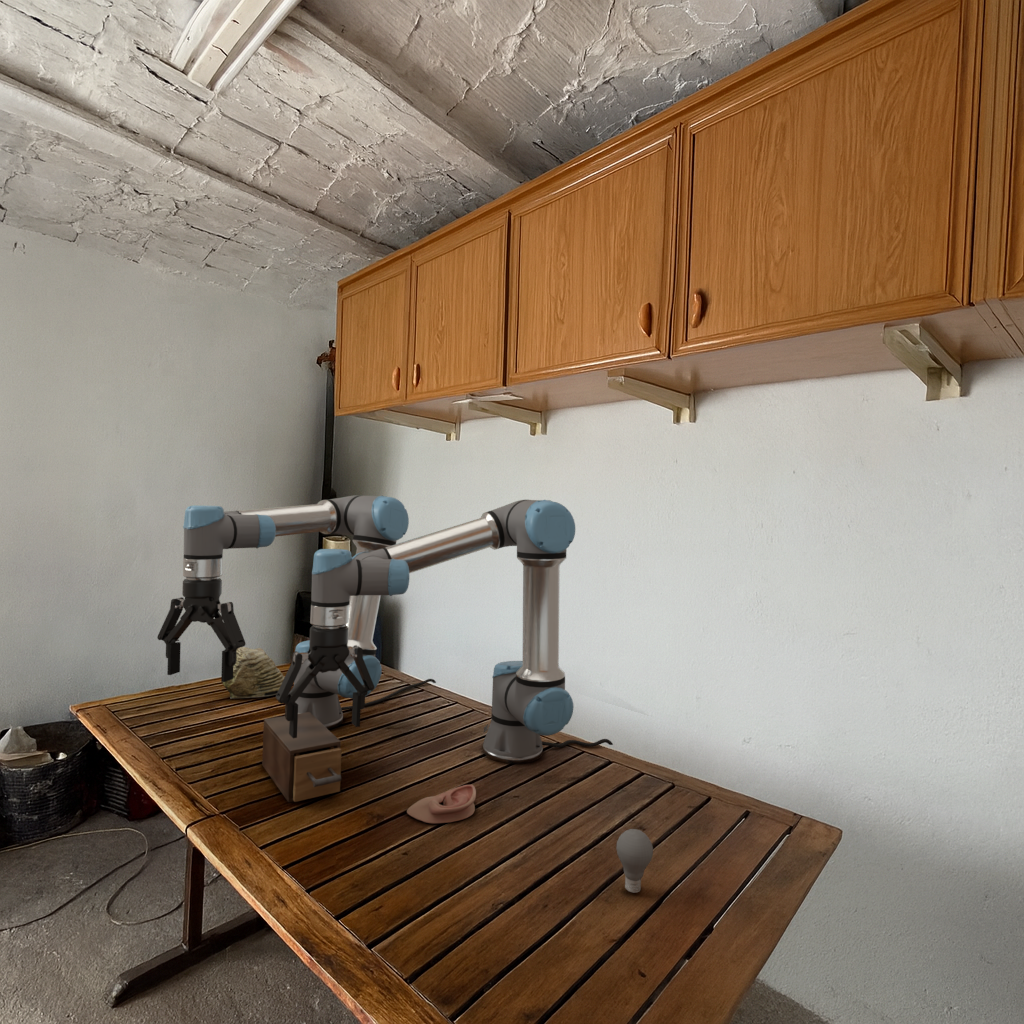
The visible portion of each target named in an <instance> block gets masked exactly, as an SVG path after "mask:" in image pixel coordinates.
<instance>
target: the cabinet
mask: <svg viewBox="0 0 1024 1024" xmlns="http://www.w3.org/2000/svg"><path fill="white" fill-rule="evenodd" d="M289 723H290V721H287V720H286V718H285V715H282V716H275V717H269V718H264V719H263V728H262V729H263V730H262V731H263V734H262V756H261V757H262V760H261V766H262V768H264V770H265V772H266V773H267V775H269V777H270V778H271V780H272V781H273V783H274V784H275V786H276V787H277V789H278V790H279V792H280V793H281V794H282V795H283V797H284V799H285V800H286V801H287V803H293V802H294V800H293V768H294V754H296V753H301V752H306V751H311V750H317V749H322V748H327V747H332V746H333V747H334V749H335V748H340V749H342V748H341V744H342V741H341V740H340V739H339V738H338V737H337V736H336V735H335V734H334V733H333V732H331V731H330V729H329V730H328V729H327V728H326V727H325V726H324V725H323V724H322V723H321V722H320V721H319V720H318V719H316V718H315V717H314V716H313V715H312V714H311V713H310V712H307V713H301V714H298V724H297V738H292V737H291V736H290V734H289Z"/></svg>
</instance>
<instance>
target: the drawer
mask: <svg viewBox="0 0 1024 1024" xmlns="http://www.w3.org/2000/svg"><path fill="white" fill-rule="evenodd" d="M341 774H342V748H335V749H334V747H333V746H332V747H327V748H322V749H317V750H311V751H306V752H301V753H296V754H294V768H293V800H294V801H293V802H294V803H298V802H301V801H305V800H310V799H315V798H318V797H323V796H327V795H330V794H331V795H332V794H335V793H339V792H341V781H342V775H341Z"/></svg>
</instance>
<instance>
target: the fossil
mask: <svg viewBox="0 0 1024 1024" xmlns="http://www.w3.org/2000/svg"><path fill="white" fill-rule="evenodd" d="M284 678H285V676H284V674H283V673H282V672H281V669H279V668H278V667H277V665H276V663H275V662H274V660H273V659H272V658H271V657H270V656H269V655H268V654H267V653H266V652H265V650H264V649H263V648H260V647H258V648H251V647H247V646H246V647H245V646H243V647H240V648H238V649H237V653H236V664H235V665H233V679H231V680H229V681H226V682H222V685H223V687H224V688H225V690H226V691H228V693H229V698H230V699H250V698H264V697H271V696H276V695H277V693H278V691H279V688H280V686H281V684H282V682H283V680H284Z"/></svg>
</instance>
